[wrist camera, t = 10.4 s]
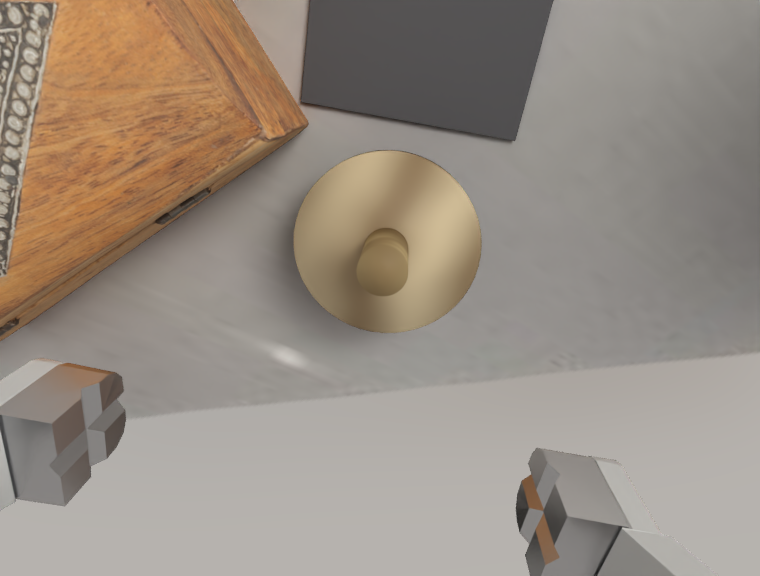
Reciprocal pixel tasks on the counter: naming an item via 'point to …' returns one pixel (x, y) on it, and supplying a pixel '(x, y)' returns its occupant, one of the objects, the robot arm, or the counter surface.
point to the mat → (426, 60)
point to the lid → (387, 241)
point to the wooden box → (120, 131)
